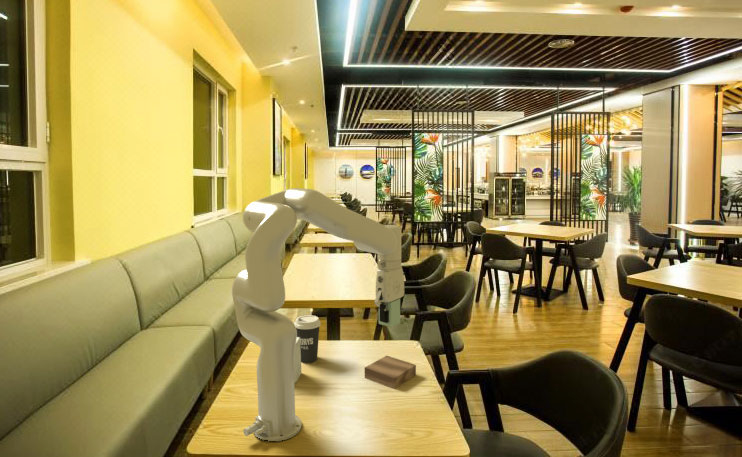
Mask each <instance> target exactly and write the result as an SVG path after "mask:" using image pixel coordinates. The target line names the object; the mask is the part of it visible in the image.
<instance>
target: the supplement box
mask: <svg viewBox="0 0 742 457" xmlns="http://www.w3.org/2000/svg"><path fill="white" fill-rule="evenodd" d="M301 375H302V362H301V348H300V337H297V338H296V344H295V350H294V384H295V383H297V382H298V380H299V378H300V376H301Z"/></svg>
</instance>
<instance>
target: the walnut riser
mask: <svg viewBox="0 0 742 457" xmlns="http://www.w3.org/2000/svg"><path fill="white" fill-rule="evenodd" d="M416 371H417V364H414V363H411V362H408V361H405V360H402V359H398V358H397V357H392V356H389V355H385V356H384V357H381V358H380V359H379V358H378V360H376V361H374V362H372V363H370V364H368V365H367V366H365V367H364V379H366V380H369V381H371V382H374V383H377V384H380V385H383V386H386V387H388V388H391V389H393V390H396V388H397V389H398V387H400V386H401V385H403V384H405V383H406V382H407V381H409V380H411V379H412V378H413V377H416V376H417V374H416V373H417V372H416Z"/></svg>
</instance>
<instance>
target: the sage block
mask: <svg viewBox="0 0 742 457" xmlns="http://www.w3.org/2000/svg"><path fill="white" fill-rule="evenodd" d="M383 300H384V299H383ZM383 305H384V306H385V303H384V302H383ZM387 310H388V311H389V322H388V323H385V322H381V321H380V310H379V309H378V311H377V312H378V314H377V315H378V324H379V325H382V326H386V327H390V328H392V327H394V326H396V325H398V324H400V323H401V300H400V299H397V300H394V301H392V302H389V303H388V309H387Z"/></svg>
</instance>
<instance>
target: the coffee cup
mask: <svg viewBox="0 0 742 457" xmlns="http://www.w3.org/2000/svg"><path fill="white" fill-rule="evenodd" d="M293 323H294V325H295V327H296V330H297V337H300V348H301V364H303V363H304V364H310V363H315V362H316V361H317V360H318V352H319V351H318V350H319V338H320V326H321V325H322V323H321V320H320V319H319V317H318V315H317V316H316V315H312V314H309V315H308V314H305V315H300V316H298V317H296V318H295V320H294V322H293Z"/></svg>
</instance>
